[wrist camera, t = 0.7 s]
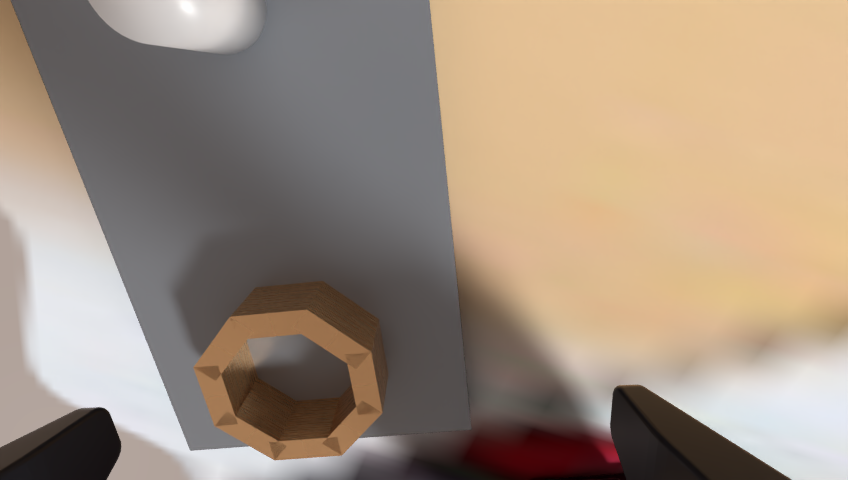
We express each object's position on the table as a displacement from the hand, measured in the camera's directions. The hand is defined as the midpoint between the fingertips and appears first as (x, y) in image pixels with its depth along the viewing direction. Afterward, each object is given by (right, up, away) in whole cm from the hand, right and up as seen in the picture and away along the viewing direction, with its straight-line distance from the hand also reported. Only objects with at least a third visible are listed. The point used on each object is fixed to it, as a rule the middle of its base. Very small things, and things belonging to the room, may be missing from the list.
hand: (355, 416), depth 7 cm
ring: (-4, -2, +12) cm, 12 cm away
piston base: (-5, +5, +10) cm, 12 cm away
